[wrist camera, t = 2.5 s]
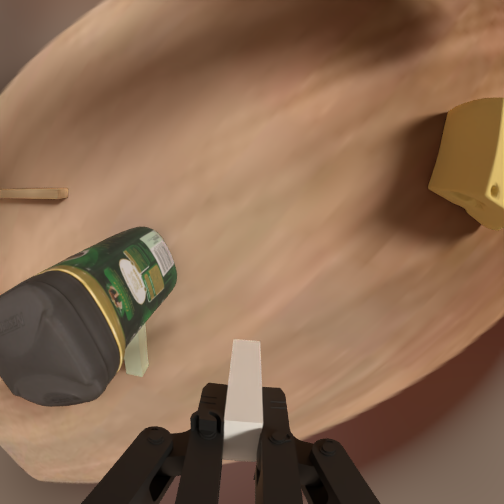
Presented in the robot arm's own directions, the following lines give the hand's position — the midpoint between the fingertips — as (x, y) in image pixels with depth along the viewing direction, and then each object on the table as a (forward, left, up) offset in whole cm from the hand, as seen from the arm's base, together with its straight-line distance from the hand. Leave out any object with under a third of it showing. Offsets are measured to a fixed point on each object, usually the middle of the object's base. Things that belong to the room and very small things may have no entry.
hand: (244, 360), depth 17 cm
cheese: (-15, +23, -14) cm, 31 cm away
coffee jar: (0, -12, -14) cm, 18 cm away
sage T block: (+9, -14, -13) cm, 21 cm away
